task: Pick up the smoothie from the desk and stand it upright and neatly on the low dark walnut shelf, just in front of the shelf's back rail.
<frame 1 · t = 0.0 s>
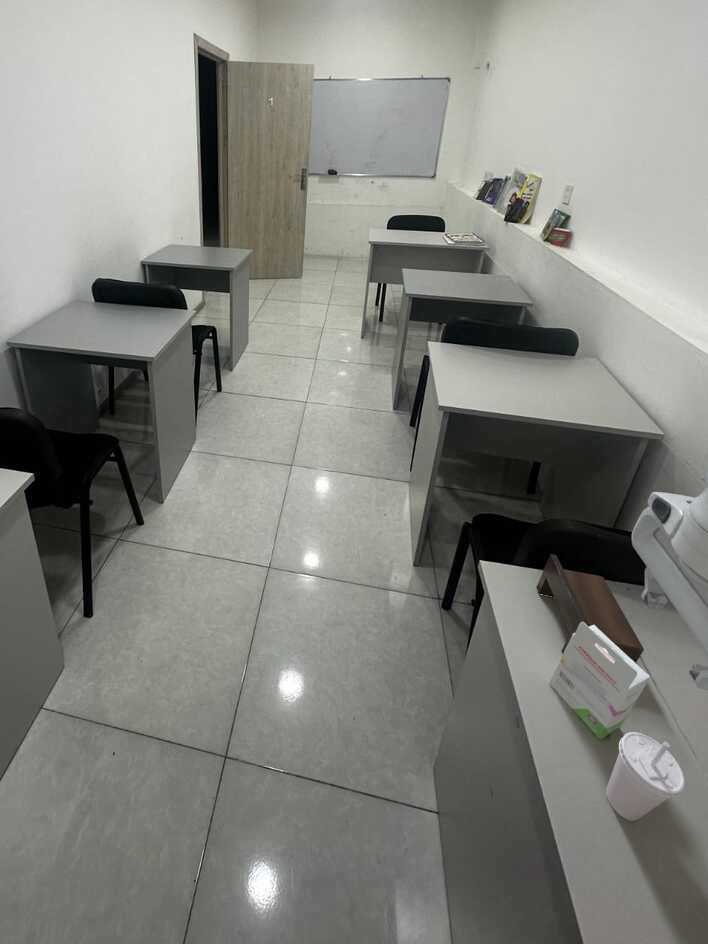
hand: (673, 640, 55), 27 cm above the table, tool pointing down, fingers open, 8 cm apart
ink box: (582, 705, 73), on the table
shelf: (578, 627, 85), on the table
smoothie: (622, 803, 63), on the table
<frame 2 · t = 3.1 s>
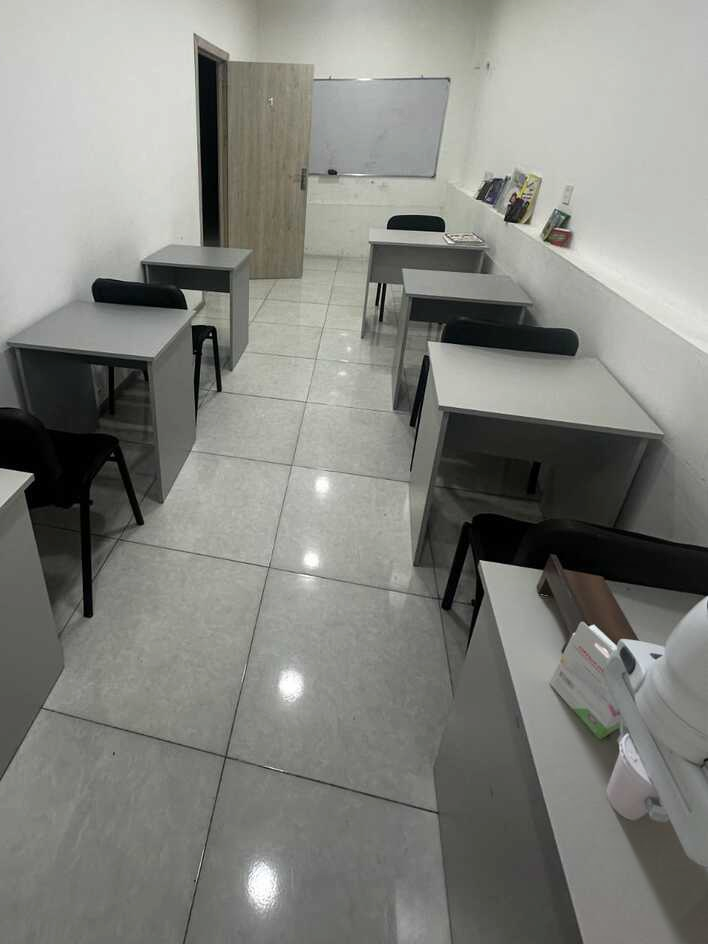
hand: (639, 779, 60), 5 cm above the table, tool pointing down, fingers closed on smoothie, 5 cm apart
smoothie: (622, 802, 63), on the table, touching gripper
everything else where it was.
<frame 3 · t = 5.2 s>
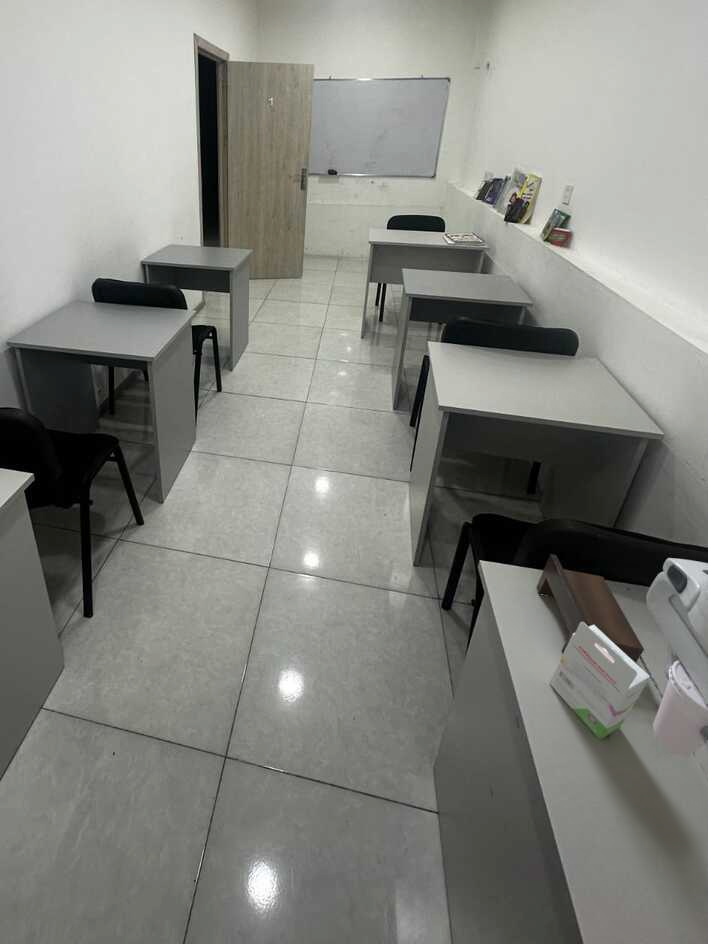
hand: (691, 710, 54), 20 cm above the table, tool pointing down, fingers closed on smoothie, 5 cm apart
smoothie: (671, 738, 57), point 14 cm above the table, touching gripper
everything else where it was.
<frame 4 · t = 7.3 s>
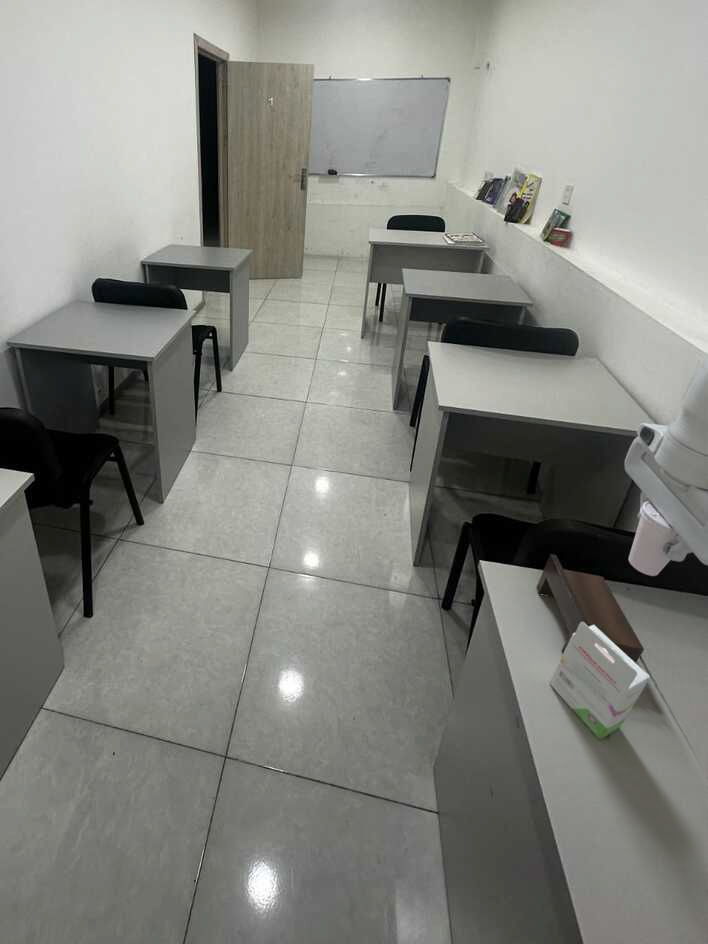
hand: (657, 538, 69), 27 cm above the table, tool pointing down, fingers closed on smoothie, 5 cm apart
smoothie: (642, 566, 72), point 21 cm above the table, touching gripper
everything else where it was.
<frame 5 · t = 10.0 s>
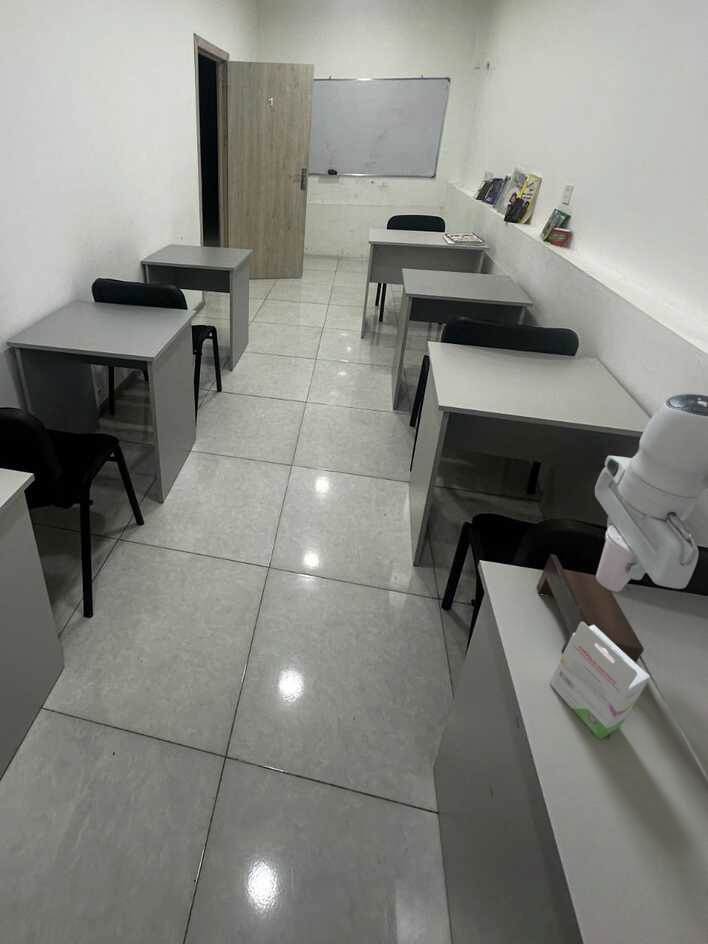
hand: (621, 558, 78), 17 cm above the table, tool pointing down, fingers closed on smoothie, 5 cm apart
smoothie: (608, 582, 80), point 12 cm above the table, touching gripper
everything else where it was.
when the fingers open (11 cm above the table, at t = 11.9 s): smoothie stays where it is, resting on shelf.
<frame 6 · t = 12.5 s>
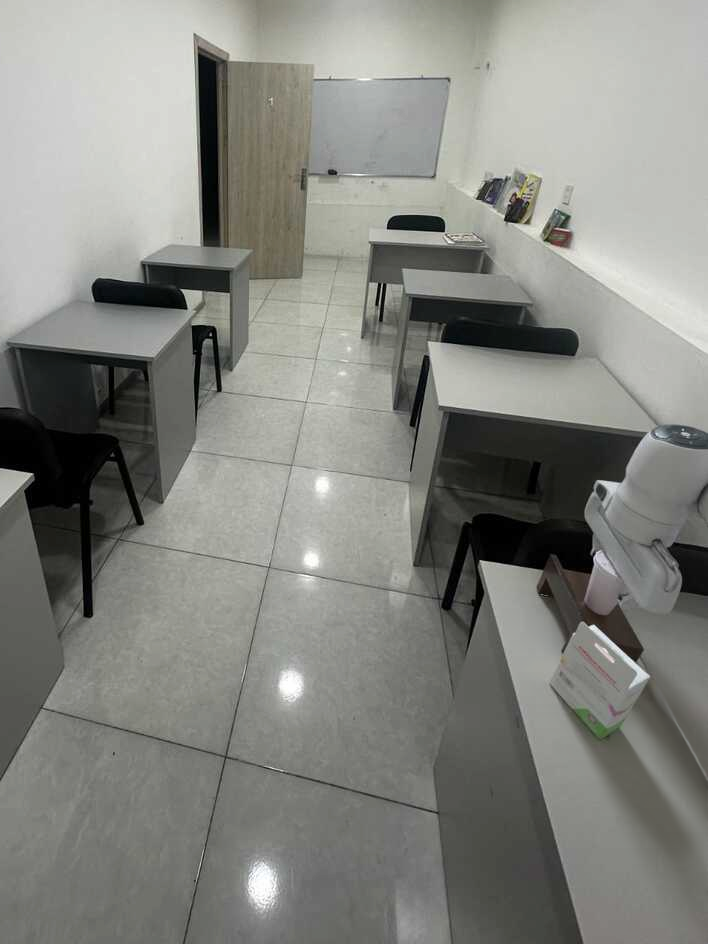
hand: (609, 581, 80), 12 cm above the table, tool pointing down, fingers open, 8 cm apart
smoothie: (596, 606, 83), point 6 cm above the table, touching shelf
everything else where it was.
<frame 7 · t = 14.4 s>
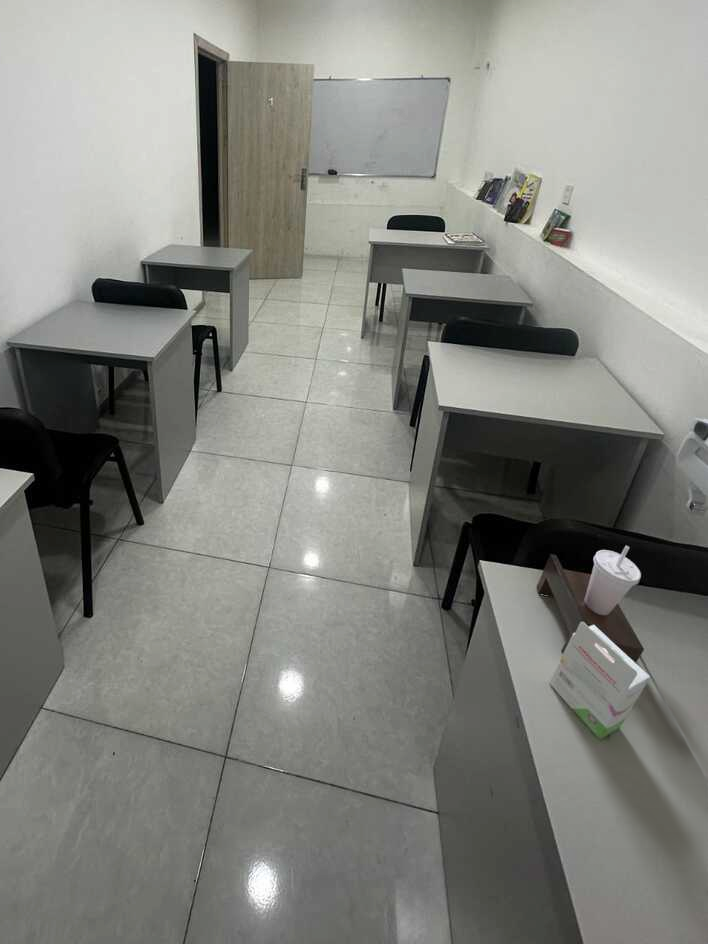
nothing on the table moved.
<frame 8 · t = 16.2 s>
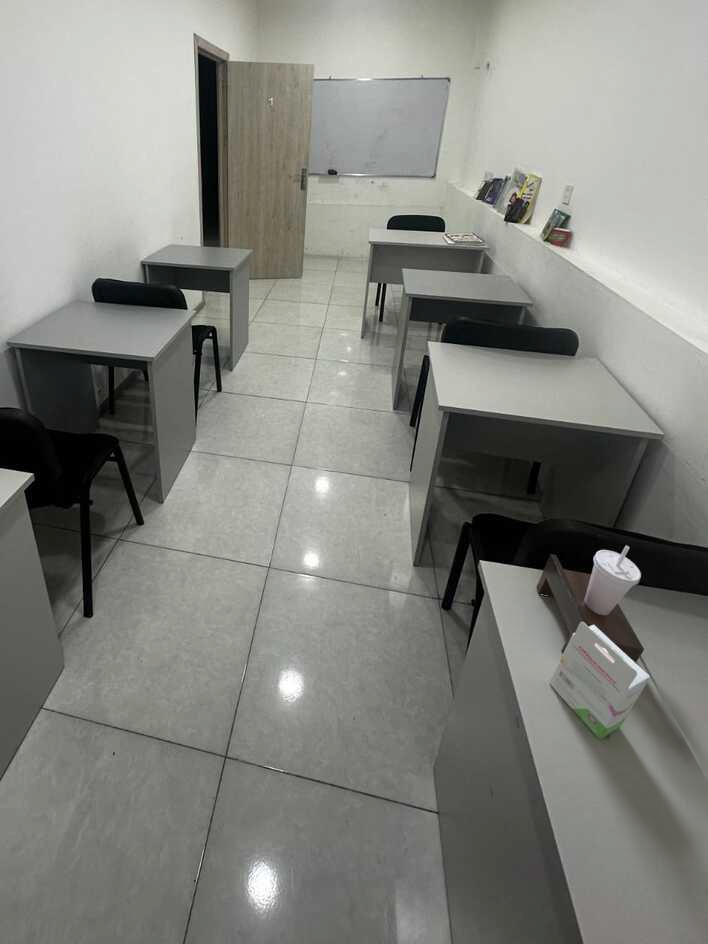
nothing on the table moved.
at the end: smoothie inside the target area on the shelf (0.5 cm from its centre), point 5.8 cm above the shelf's base; smoothie tilted 0°; the gripper is holding nothing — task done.
